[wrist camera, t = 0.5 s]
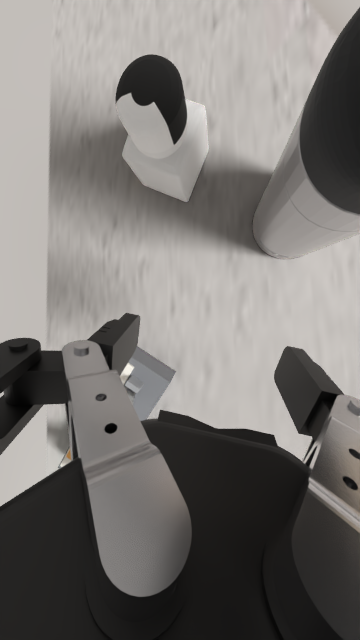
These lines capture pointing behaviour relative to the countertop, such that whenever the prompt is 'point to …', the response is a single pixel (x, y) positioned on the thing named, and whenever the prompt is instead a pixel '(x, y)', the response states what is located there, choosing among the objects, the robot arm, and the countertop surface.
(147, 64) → the medicine bottle
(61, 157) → the countertop surface
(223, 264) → the countertop surface
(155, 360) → the switch console
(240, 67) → the countertop surface
